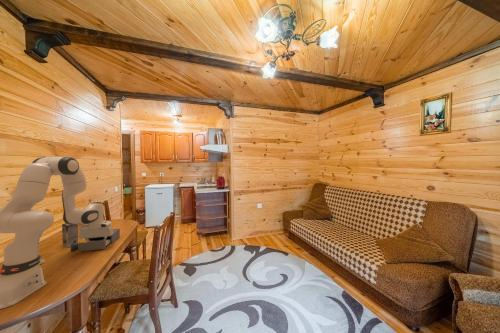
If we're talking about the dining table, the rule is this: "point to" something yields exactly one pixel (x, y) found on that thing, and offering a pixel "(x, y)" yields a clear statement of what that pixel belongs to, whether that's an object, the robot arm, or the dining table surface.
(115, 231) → the housing
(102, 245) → the tray
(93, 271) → the dining table surface
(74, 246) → the grey rounded piece
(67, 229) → the coffee box
